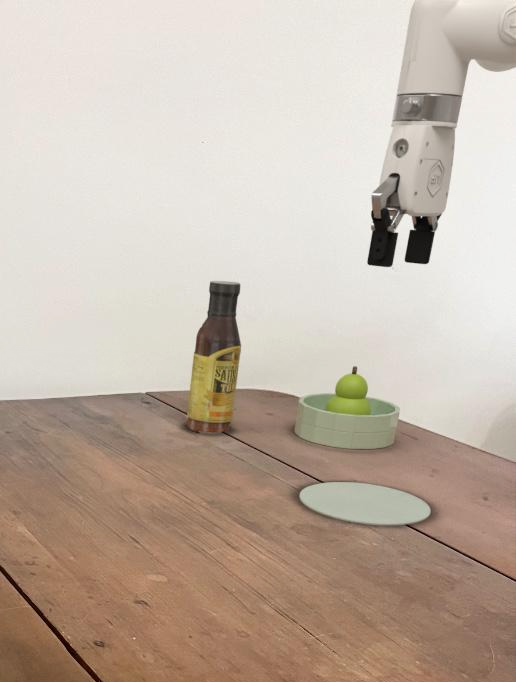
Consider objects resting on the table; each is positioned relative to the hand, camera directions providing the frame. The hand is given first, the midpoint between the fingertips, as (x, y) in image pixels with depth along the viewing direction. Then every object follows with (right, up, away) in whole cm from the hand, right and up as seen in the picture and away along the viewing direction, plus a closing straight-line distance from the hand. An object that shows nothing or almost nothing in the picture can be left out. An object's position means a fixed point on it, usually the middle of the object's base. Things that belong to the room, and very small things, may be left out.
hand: (398, 264), depth 118 cm
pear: (-4, -20, +9) cm, 23 cm away
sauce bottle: (-23, -19, +11) cm, 32 cm away
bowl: (-4, -21, +9) cm, 23 cm away
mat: (-10, -33, -16) cm, 38 cm away
